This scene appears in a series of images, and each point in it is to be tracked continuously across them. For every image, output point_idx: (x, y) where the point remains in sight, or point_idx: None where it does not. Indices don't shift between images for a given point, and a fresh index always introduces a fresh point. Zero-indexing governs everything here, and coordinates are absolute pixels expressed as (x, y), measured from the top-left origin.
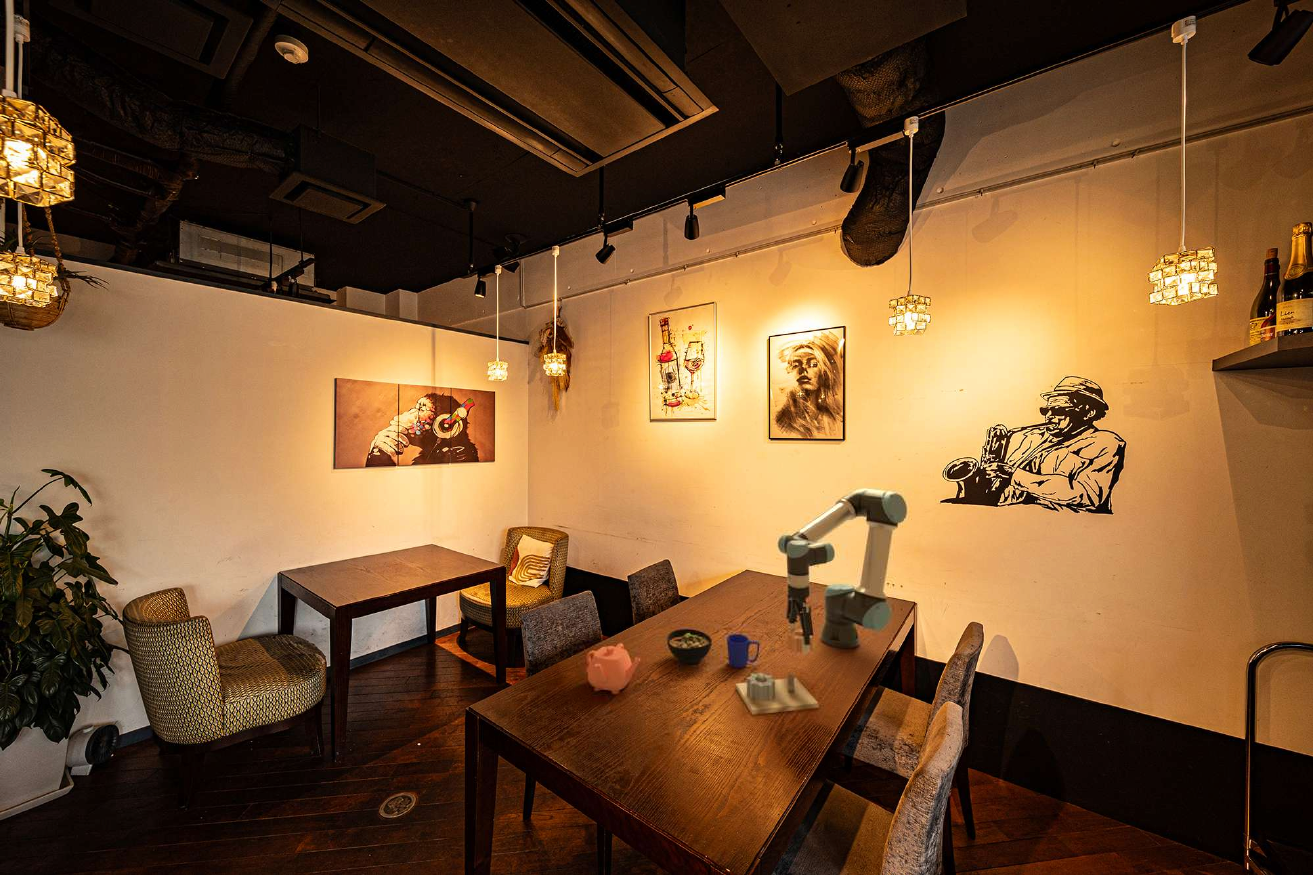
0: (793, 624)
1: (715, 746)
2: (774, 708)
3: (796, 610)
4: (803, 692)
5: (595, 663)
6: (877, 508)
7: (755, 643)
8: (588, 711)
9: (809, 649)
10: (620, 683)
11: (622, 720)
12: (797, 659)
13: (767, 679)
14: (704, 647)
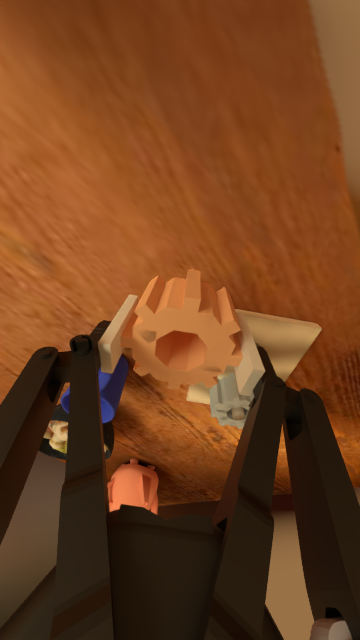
0: (112, 359)
1: (284, 449)
2: None
3: (104, 467)
4: (272, 330)
5: None
6: None
7: (108, 381)
8: (176, 481)
9: (246, 324)
10: (157, 483)
11: (200, 474)
12: (106, 226)
13: (245, 407)
14: (106, 440)
